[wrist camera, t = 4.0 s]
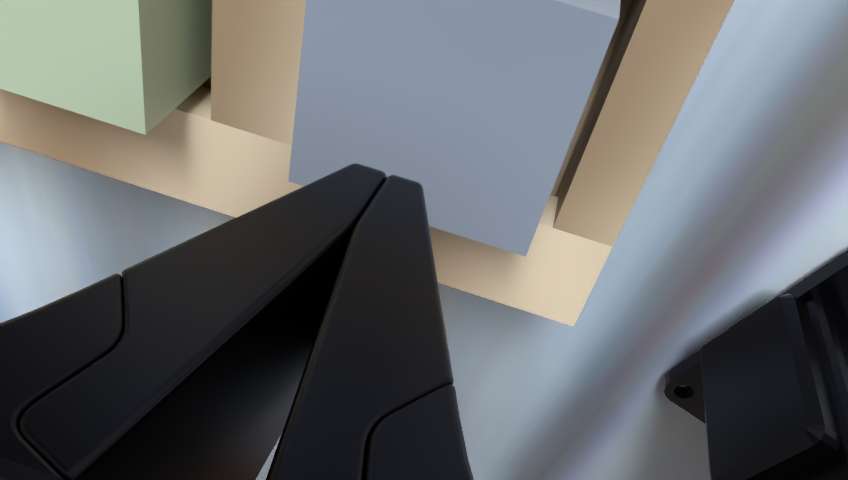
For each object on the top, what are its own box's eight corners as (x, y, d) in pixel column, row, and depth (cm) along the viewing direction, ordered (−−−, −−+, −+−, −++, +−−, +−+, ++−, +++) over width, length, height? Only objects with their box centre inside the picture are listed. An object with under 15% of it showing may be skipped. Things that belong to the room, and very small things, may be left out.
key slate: (624, -41, 11) (618, 19, 9) (543, 174, 13) (525, 256, 11) (371, -115, 11) (313, -72, 9) (339, 110, 14) (288, 181, 12)
